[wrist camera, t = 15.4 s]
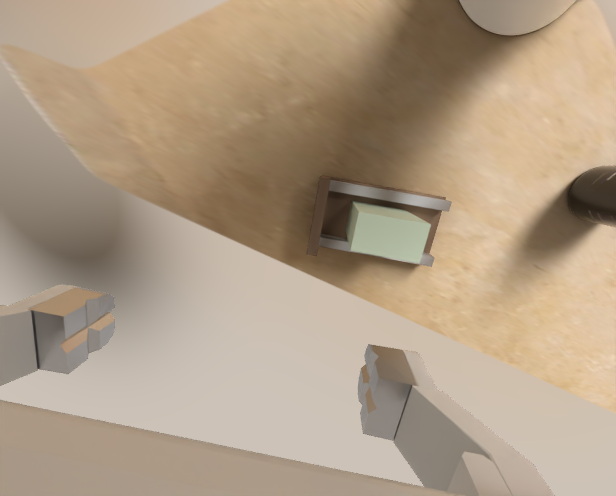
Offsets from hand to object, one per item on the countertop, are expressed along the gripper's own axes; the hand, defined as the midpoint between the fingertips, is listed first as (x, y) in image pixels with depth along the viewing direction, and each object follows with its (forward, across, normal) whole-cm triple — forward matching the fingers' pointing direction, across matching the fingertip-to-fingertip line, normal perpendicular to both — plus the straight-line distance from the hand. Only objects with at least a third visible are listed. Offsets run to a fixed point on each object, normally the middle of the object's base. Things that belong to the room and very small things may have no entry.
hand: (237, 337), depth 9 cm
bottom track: (+31, -9, 0) cm, 32 cm away
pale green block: (+30, -9, 0) cm, 31 cm away
